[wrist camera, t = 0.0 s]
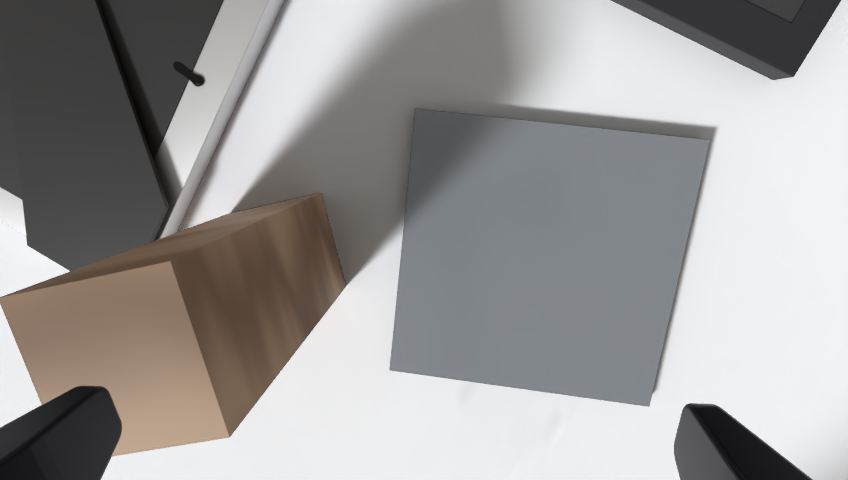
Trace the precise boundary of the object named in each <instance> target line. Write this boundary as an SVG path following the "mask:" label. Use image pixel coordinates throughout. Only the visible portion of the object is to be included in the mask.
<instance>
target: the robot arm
mask: <svg viewBox="0 0 848 480" xmlns="http://www.w3.org/2000/svg"><path fill="white" fill-rule="evenodd" d="M121 433H122V422H121V419H120V417H119V414H118V412H117V409H116V407H115V405H114V402H113V400H112V397H111V395H110V393H109V391H108V390H107V389H106V388H105V387H102V386H77V387H75V388H73V389H71V390H69V391H67V392H65V393H63V394H61V395H60V396H58V397H56V398H54V399H52V400H50V401H49V402H47V403H45V404H43V405H41V406H39V407H38V408H36V409H34V410H32V411H30V412H28V413H26V414H25V415H23V416H21V417H19V418H17V419H15V420H14V421H12V422H10V423H8V424H6V425H4V426H3V427H1V428H0V480H101V478H102V476H103V474H104V472H105V469H106V467H107V465H108V463H109V461H110V459H111V457H112V455H113V452H114V450H115V448H116V446H117V444H118V442H119V440H120V437H121ZM674 455H675V461H676V465H677V468H678V472H679V476H680V480H813V479H811V478H810V477H809V476H807V475H806V474H805V473H804V472H802V471H801V470H800V469H798V468H797V467H796V466H795V465H793V464H792V463H791V462H789V461H788V460H787V459H786V458H784V457H783V456H782V455H781V454H779V453H778V452H777V451H775V450H774V449H773V448H772V447H770V446H769V445H768V444H766V443H765V442H764V441H763V440H761V439H760V438H759V437H758V436H756V435H755V434H754V433H752V432H751V431H750V430H749V429H747V428H746V427H745V426H743V425H742V424H741V423H740V422H738V421H737V420H736V419H735V418H733V417H732V416H731V415H729V414H728V413H727V412H726V411H724V410H723V409H722V408H720V407H719V406H717V405H714V404H694V403H690V404H687V405H686V406H685V407H684V408H683V411H682V414H681V418H680V422H679V426H678V430H677V434H676V438H675V442H674Z"/></svg>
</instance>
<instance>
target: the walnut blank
mask: <svg viewBox="0 0 848 480" xmlns="http://www.w3.org/2000/svg"><path fill="white" fill-rule="evenodd" d="M345 287H346V284H345V280H344V276H343V273H342V269H341V265H340V261H339V258H338V254H337V250H336V247H335V243H334V239H333V235H332V232H331V228H330V224H329V221H328V217H327V213H326V209H325V206H324V202H323V198H322V195H321V193H318V194H314V195H309V196H305V197H300V198H296V199H291V200H287V201H283V202H278V203H274V204H269V205H265V206H260V207H256V208H251V209H247V210H243V211H238V212H234V213H229V214H227V215H224V216H221V217H218V218H216V219H213V220H210V221H207V222H205V223H202V224H199V225H197V226H194V227H191V228H188V229H186V230H183V231H180V232H177V233H175V234H172V235H169V236H166V237H164V238H161V239H158V240H156V241H153V242H150V243H147V244H145V245H142V246H139V247H136V248H134V249H131V250H128V251H126V252H123V253H120V254H117V255H115V256H112V257H109V258H106V259H104V260H101V261H98V262H95V263H93V264H90V265H87V266H85V267H82V268H79V269H76V270H74V271H71V272H68V273H65V274H63V275H60V276H57V277H55V278H52V279H49V280H46V281H44V282H41V283H38V284H35V285H33V286H30V287H27V288H25V289H22V290H19V291H16V292H14V293H11V294H8V295H5V296H3V297H0V304H1V306H2V309H3V311H4V314H5V316H6V319H7V321H8V323H9V326H10V328H11V331H12V333H13V336H14V338H15V340H16V343H17V345H18V348H19V350H20V353H21V355H22V357H23V360H24V362H25V365H26V367H27V370H28V372H29V374H30V377H31V379H32V382H33V384H34V387H35V389H36V391H37V394H38V396H39V399H40V401H41V404H42V405H43V404H45V403H47V402H49V401H50V400H52V399H54V398H56V397H58V396H60V395H61V394H63V393H65V392H67V391H69V390H71V389H73V388H75V387H77V386H102V387H105V388H106V389H107V390H108V391H109V393H110V395H111V397H112V400H113V402H114V405H115V407H116V409H117V412H118V414H119V417H120V419H121V422H122V433H121V437H120V440H119V442H118V444H117V446H116V448H115V450H114V452H113V455H112V456H117V455H123V454H129V453H136V452H142V451H148V450H154V449H160V448H167V447H173V446H179V445H185V444H191V443H197V442H204V441H210V440H216V439H222V438H228V437H230V436H231V435H232V433H233V432H234V431H235V430H236V428H237V427H238V426H239V424H240V423H241V422H242V420H243V419H244V418H245V417H246V415H247V414H248V413H249V411H250V410H251V409H252V408H253V406H254V405H255V404H256V402H257V401H258V400H259V398H260V397H261V396H262V395H263V393H264V392H265V391H266V389H267V388H268V387H269V385H270V384H271V383H272V382H273V380H274V379H275V378H276V376H277V375H278V374H279V373H280V371H281V370H282V369H283V367H284V366H285V365H286V363H287V362H288V361H289V360H290V358H291V357H292V356H293V354H294V353H295V352H296V350H297V349H298V348H299V347H300V345H301V344H302V343H303V341H304V340H305V339H306V338H307V336H308V335H309V334H310V332H311V331H312V330H313V328H314V327H315V326H316V325H317V323H318V322H319V321H320V319H321V318H322V317H323V315H324V314H325V313H326V312H327V310H328V309H329V308H330V306H331V305H332V304H333V303H334V301H335V300H336V299H337V297H338V296H339V295H340V293H341V292H342V291H343V290H344V288H345Z"/></svg>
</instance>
